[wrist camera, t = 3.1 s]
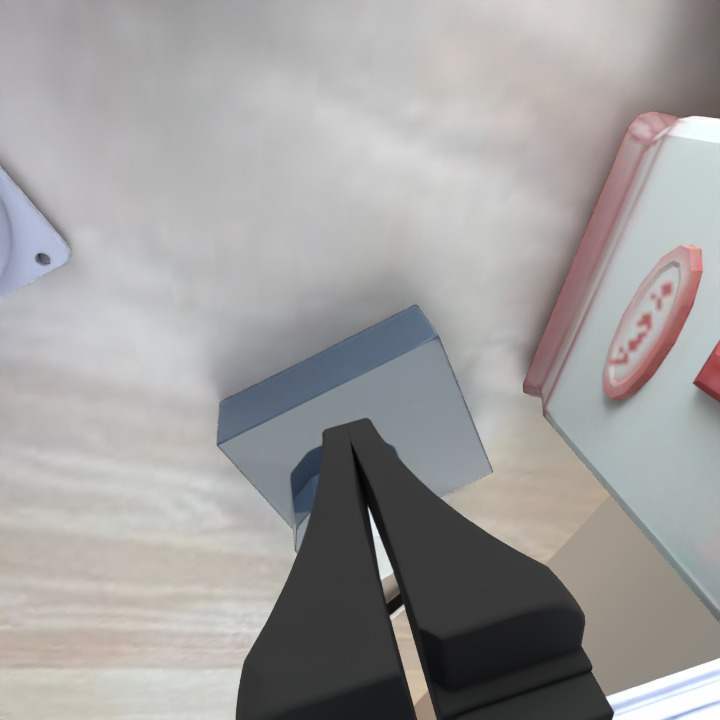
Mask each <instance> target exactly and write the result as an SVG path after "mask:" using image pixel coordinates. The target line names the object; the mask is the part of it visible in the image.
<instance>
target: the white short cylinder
mask: <svg viewBox="0 0 720 720" xmlns="http://www.w3.org/2000/svg"><path fill="white" fill-rule="evenodd" d="M368 510H369V507H368ZM369 516H370V521H371V527H372V533H373V539H374V544H375V550H376V556H377V562H378V567H379V573H380V579H381V580H382V579H384V578H386V577H388V576H389V575H391V574H392V573H394V572H393V569H392V567H391V564H390V561H389V559H388V556H387V554H386V551H385V549H384V546H383V543H382V541H381V538H380V536H379V533H378V530H377V528H376V525H375V523H374V520H373V517H372V515H371V512H370V510H369Z"/></svg>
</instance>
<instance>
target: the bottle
mask: <svg viewBox="0 0 720 720" xmlns="http://www.w3.org/2000/svg"><path fill="white" fill-rule="evenodd" d="M523 392H524V393H526V394H528V395H530V396H534V397H540V398H542V405H543V416H544V417H545V418H546V420H547V421H548V422H549V423H550V424H551V425H552V427H553V428H554V429H555V430H556V431H557V432H558V434H559V435H560V436H561V437H562V438H563V440H564V441H565V442H566V443H567V444H568V445H569V447H570V448H571V449H572V450H573V451H574V452H575V454H576V455H577V456H578V457H579V458H580V460H581V461H582V462H583V463H584V464H585V465H586V467H587V468H588V469H589V470H590V471H591V472H592V474H593V475H594V476H595V477H596V478H597V480H598V481H599V482H600V483H601V484H602V485H603V487H604V488H605V489H606V490H607V491H608V492H609V494H610V495H611V496H612V497H613V498H614V499H615V501H616V502H617V503H618V504H619V505H620V506H621V508H622V509H623V510H624V511H625V512H626V514H628V516H629V517H630V518H631V519H632V521H633V522H634V523H635V524H636V525H637V527H638V528H639V529H640V530H641V531H642V532H643V534H644V535H645V536H646V537H647V538H648V539H649V541H650V542H651V543H652V544H653V545H654V547H655V548H656V549H657V550H658V551H659V552H660V554H662V556H663V557H664V558H665V559H666V561H668V563H669V564H670V565H671V566H672V568H673V569H674V570H675V571H676V572H677V573H678V575H679V576H680V577H681V578H682V579H683V581H684V582H685V583H686V584H687V585H688V586H689V588H690V589H691V590H692V591H693V592H694V594H695V595H696V596H697V597H698V598H699V599H700V601H701V602H702V603H703V604H704V605H705V606H706V608H707V609H708V610H709V611H710V612H711V614H712V615H713V616H714V617H715V618H716V619H717V620H718V622H719V623H720V119H718V118H709V117H700V116H691V117H686V118H683V117H678V116H673V115H669V114H664V113H660V112H655V111H651V112H647V113H643V114H639V115H638V116H637V117H636V119H635V120H634V121H633V122H632V123H631V125H630V126H629V127H628V129H627V131H626V134H625V136H624V138H623V141H622V143H621V146H620V148H619V151H618V153H617V156H616V158H615V160H614V163H613V165H612V168H611V170H610V173H609V175H608V178H607V180H606V182H605V185H604V187H603V190H602V192H601V195H600V197H599V200H598V202H597V204H596V207H595V209H594V212H593V214H592V217H591V219H590V222H589V224H588V226H587V229H586V231H585V234H584V236H583V239H582V241H581V244H580V246H579V248H578V251H577V253H576V256H575V258H574V261H573V263H572V265H571V268H570V270H569V273H568V275H567V278H566V280H565V283H564V285H563V287H562V290H561V292H560V295H559V297H558V300H557V302H556V305H555V307H554V309H553V312H552V314H551V317H550V319H549V322H548V324H547V327H546V329H545V331H544V334H543V336H542V339H541V341H540V344H539V346H538V349H537V351H536V353H535V356H534V358H533V361H532V363H531V366H530V368H529V371H528V373H527V375H526V378H525V380H524V383H523Z"/></svg>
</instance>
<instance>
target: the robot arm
mask: <svg viewBox="0 0 720 720" xmlns="http://www.w3.org/2000/svg"><path fill="white" fill-rule="evenodd" d="M39 253H44V254H46V255H47V256H49V258H50V260H51V262H50V263H47V262H43V261H42V260H41V259H40V258H39ZM71 255H72V253H71V249H70V247H69V245H68V244H67V243H66V242H65V241H64V239H63V238H62V237H61V236H60V235H59V234H58V232H57V231H56V230H55V229H54V228H53V227H52V225H51V224H50V223H49V222H48V221H47V220H46V218H45V217H44V216H43V215H42V214H41V213H40V211H39V210H38V209H37V208H36V207H35V206H34V204H33V203H32V202H31V201H30V200H29V199H28V197H27V196H26V195H25V194H24V193H23V192H22V190H21V189H20V188H19V187H18V186H17V185H16V183H15V182H14V181H13V180H12V179H11V178H10V176H9V175H8V174H7V173H6V172H5V171H4V169H3V168H2V167H1V166H0V298H2V297H4V296H6V295H7V294H9V293H11V292H13V291H15V290H17V289H19V288H21V287H23V286H24V285H26V284H28V283H30V282H32V281H34V280H36V279H38V278H40V277H41V276H43V275H45V274H47V273H49V272H51V271H53V270H55V269H56V268H58V267H60V266H62V265H64V264H65V263H66V262H68V260H69V259H70V258H71ZM368 507H369V510H370V512H371V515H372V517H373V520H374V523H375V525H376V528H377V530H378V533H379V536H380V538H381V541H382V543H383V546H384V549H385V551H386V554H387V556H388V559H389V561H390V564H391V567H392V569H393V572H394V575H395V578H396V581H397V583H398V586H399V589H400V593H401V596H402V600H403V603H404V607H405V610H406V614H407V617H408V621H409V624H410V628H411V631H412V635H413V638H414V641H415V645H416V648H417V652H418V655H419V659H420V662H421V666H422V669H423V673H424V676H425V680H426V683H427V687H428V690H429V694H430V697H431V701H432V704H433V708H434V711H435V715H436V718H437V720H720V659H717V660H714V661H711V662H708V663H705V664H702V665H699V666H696V667H693V668H690V669H687V670H684V671H681V672H678V673H675V674H672V675H669V676H666V677H663V678H660V679H658V680H654V681H651V682H648V683H646V684H642V685H639V686H637V687H634V688H631V689H628V690H625V691H622V692H619V693H616V694H613V695H610V696H607V697H605V695H604V693H603V692H602V690H601V688H600V686H599V684H598V683H597V681H596V679H595V677H594V676H593V674H592V672H591V670H592V665H591V662H590V660H589V659H588V657H587V655H586V653H585V652H584V650H583V648H582V646H581V644H582V638H583V632H584V626H585V615H584V613H583V611H582V610H581V608H580V606H579V605H578V603H577V602H576V600H575V599H574V597H573V596H572V595H571V593H570V592H569V591H568V590H567V588H566V587H565V586H564V585H563V583H562V582H561V581H560V580H559V579H558V578H557V576H556V575H555V574H554V573H553V572H552V571H551V570H550V569H549V568H548V567H547V566H546V565H544V564H542V563H540V562H538V561H536V560H534V559H532V558H530V557H528V556H526V555H524V554H523V553H521V552H519V551H517V550H515V549H513V548H512V547H510V546H508V545H507V544H505V543H503V542H502V541H500V540H498V539H497V538H495V537H493V536H492V535H490V534H489V533H487V532H486V531H484V530H483V529H481V528H480V527H478V526H477V525H475V524H474V523H472V522H471V521H469V520H468V519H466V518H465V517H464V516H462V515H461V514H460V513H458V512H457V511H456V510H454V509H453V508H452V507H450V506H449V505H448V504H447V503H445V502H444V501H443V500H442V499H441V498H439V497H438V496H437V495H436V494H435V493H434V492H432V491H431V490H430V489H429V488H428V487H427V486H426V485H425V484H424V483H423V482H422V481H420V480H419V479H418V478H417V477H416V476H415V475H414V474H413V473H412V472H411V471H410V470H409V469H408V468H407V467H406V465H405V464H404V463H403V462H402V461H401V460H400V459H399V458H398V457H397V456H396V454H395V453H394V452H393V451H392V450H391V449H390V447H389V446H388V445H387V444H386V442H385V441H384V440H383V438H382V437H381V436H380V434H379V433H378V431H377V430H376V428H375V427H374V425H373V423H372V421H371V420H370V419H368V418H363V419H359V420H356V421H352V422H349V423H345V424H342V425H338V426H335V427H331V428H328V429H325V430H324V431H323V432H322V456H321V465H320V472H319V477H318V483H317V489H316V493H315V498H314V502H313V506H312V510H311V514H310V518H309V521H308V524H307V528H306V531H305V534H304V537H303V540H302V543H301V546H300V549H299V551H298V554H297V557H296V559H295V562H294V564H293V567H292V569H291V572H290V574H289V577H288V579H287V581H286V583H285V586H284V588H283V590H282V592H281V594H280V596H279V598H278V600H277V602H276V604H275V606H274V608H273V610H272V612H271V614H270V616H269V618H268V620H267V622H266V624H265V626H264V627H263V629H262V631H261V633H260V634H259V636H258V638H257V640H256V641H255V643H254V645H253V647H252V648H251V650H250V652H249V654H248V655H247V657H246V659H245V661H244V665H243V669H242V674H241V679H240V684H239V691H238V698H237V707H236V720H417V717H416V713H415V710H414V706H413V702H412V698H411V695H410V691H409V687H408V683H407V679H406V676H405V672H404V668H403V664H402V661H401V657H400V653H399V649H398V646H397V642H396V638H395V634H394V630H393V627H392V623H391V619H390V615H389V612H388V608H387V604H386V600H385V596H384V593H383V588H382V583H381V579H380V573H379V567H378V562H377V556H376V550H375V544H374V539H373V533H372V527H371V521H370V516H369V510H368Z"/></svg>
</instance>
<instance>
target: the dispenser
mask: <svg viewBox="0 0 720 720" xmlns="http://www.w3.org/2000/svg"><path fill="white" fill-rule="evenodd" d="M363 418H368V419H370V420H371V421H372V423H373V425H374V427H375V428H376V430H377V431H378V433H379V434H380V436H381V437H382V438H383V440H384V441H385V442H386V444H387V445H388V446H389V447H390V449H391V450H392V451H393V452H394V453H395V454H396V456H397V457H398V458H399V459H400V460H401V461H402V462H403V463H404V464H405V465H406V467H407V468H408V469H409V470H410V471H411V472H412V473H413V474H414V475H415V476H416V477H417V478H418V479H419V480H420V481H422V482H423V483H424V484H425V485H426V486H427V487H428V488H429V489H430V490H431V491H432V492H434V493H435V494H436V495H437V496H438V497H439V498H440V497H442V496H444V495H446V494H448V493H451V492H453V491H455V490H457V489H459V488H461V487H463V486H465V485H467V484H470V483H472V482H474V481H476V480H478V479H480V478H482V477H484V476H487V475H489V474H491V473H493V470H492V467H491V465H490V462H489V460H488V457H487V455H486V452H485V450H484V447H483V445H482V442H481V440H480V437H479V435H478V432H477V430H476V427H475V425H474V422H473V420H472V417H471V415H470V412H469V410H468V407H467V405H466V402H465V400H464V397H463V395H462V392H461V390H460V387H459V385H458V382H457V380H456V377H455V375H454V372H453V370H452V367H451V365H450V362H449V360H448V357H447V355H446V352H445V350H444V347H443V345H442V343H441V340H440V338H439V335H438V334H437V332H436V331H435V330H434V328H433V327H432V326H431V324H430V323H429V321H428V320H427V319H426V317H425V316H424V314H423V313H422V312H421V310H420V309H419V307H418V306H417V305H414V306H412V307H410V308H408V309H406V310H404V311H402V312H400V313H398V314H396V315H394V316H392V317H390V318H388V319H386V320H384V321H382V322H380V323H378V324H376V325H374V326H372V327H370V328H368V329H366V330H364V331H362V332H360V333H358V334H356V335H354V336H352V337H350V338H348V339H346V340H344V341H342V342H340V343H338V344H336V345H334V346H332V347H330V348H328V349H326V350H324V351H322V352H320V353H318V354H316V355H314V356H312V357H310V358H308V359H306V360H304V361H302V362H300V363H298V364H296V365H294V366H292V367H290V368H288V369H286V370H284V371H282V372H280V373H278V374H276V375H274V376H272V377H270V378H268V379H266V380H264V381H262V382H260V383H258V384H256V385H254V386H252V387H250V388H248V389H246V390H244V391H242V392H240V393H238V394H236V395H234V396H232V397H230V398H228V399H226V400H224V401H222V402H220V403H219V417H218V431H217V446H218V447H219V448H220V449H221V450H222V452H223V453H224V454H225V455H226V456H227V457H228V458H229V459H230V460H231V462H232V463H233V464H234V465H235V466H236V467H237V468H238V469H239V470H240V472H241V473H242V474H243V475H244V476H245V477H246V478H247V479H248V480H249V481H250V483H251V484H252V485H253V486H254V487H255V488H256V489H257V490H258V491H259V493H260V494H261V495H262V496H263V497H264V498H265V499H266V500H267V501H268V503H269V504H270V505H271V506H272V507H273V508H274V509H275V510H276V511H277V513H278V514H279V515H280V516H281V517H282V518H283V519H284V520H285V521H286V522H287V524H288V525H289V526H290V527H291V528H292V529H293V538H294V547H295V552H296V553H297V554H298V551H299V549H300V546H301V543H302V540H303V537H304V534H305V531H306V528H307V524H308V521H309V518H310V514H311V510H312V506H313V502H314V498H315V493H316V489H317V483H318V477H319V472H320V465H321V456H322V432H323V431H324V430H325V429H328V428H331V427H335V426H338V425H342V424H345V423H349V422H352V421H356V420H359V419H363Z"/></svg>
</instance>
